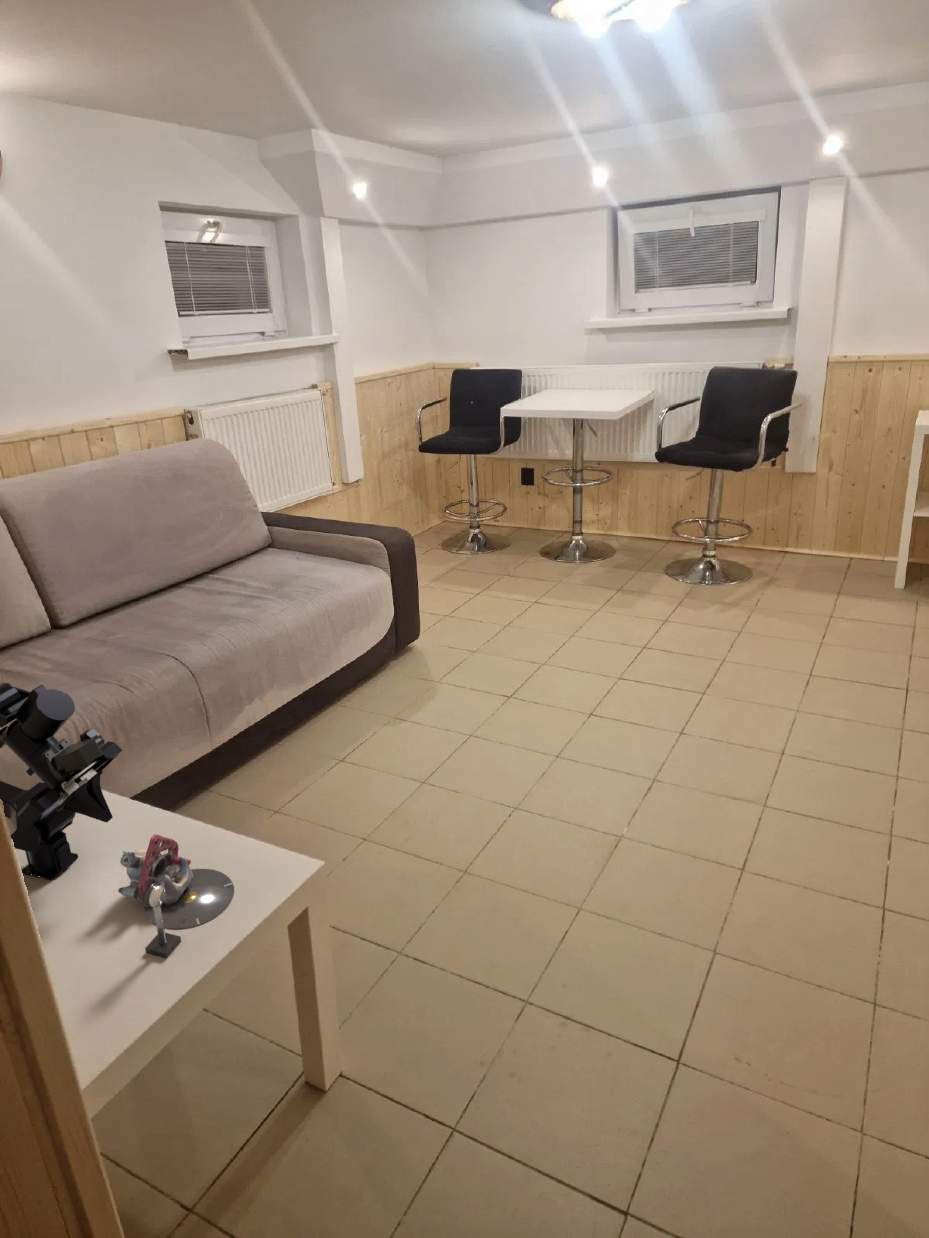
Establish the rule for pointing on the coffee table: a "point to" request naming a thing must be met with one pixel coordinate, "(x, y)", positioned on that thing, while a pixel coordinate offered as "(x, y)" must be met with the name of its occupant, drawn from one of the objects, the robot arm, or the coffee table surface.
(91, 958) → the coffee table surface
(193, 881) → the truing plate
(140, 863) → the brake caliper
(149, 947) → the stand
